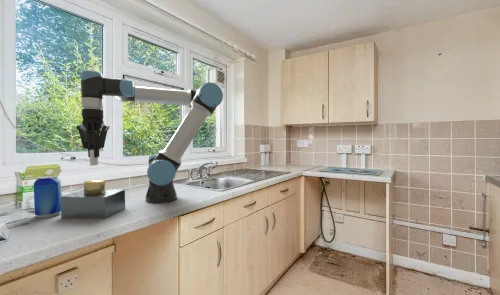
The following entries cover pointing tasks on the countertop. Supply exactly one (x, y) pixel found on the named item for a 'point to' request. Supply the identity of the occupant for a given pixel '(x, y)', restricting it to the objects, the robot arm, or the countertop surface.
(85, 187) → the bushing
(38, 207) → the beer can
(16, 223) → the countertop surface
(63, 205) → the block
